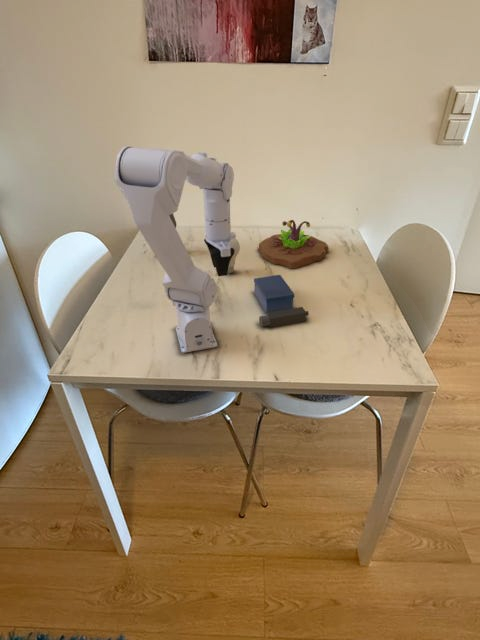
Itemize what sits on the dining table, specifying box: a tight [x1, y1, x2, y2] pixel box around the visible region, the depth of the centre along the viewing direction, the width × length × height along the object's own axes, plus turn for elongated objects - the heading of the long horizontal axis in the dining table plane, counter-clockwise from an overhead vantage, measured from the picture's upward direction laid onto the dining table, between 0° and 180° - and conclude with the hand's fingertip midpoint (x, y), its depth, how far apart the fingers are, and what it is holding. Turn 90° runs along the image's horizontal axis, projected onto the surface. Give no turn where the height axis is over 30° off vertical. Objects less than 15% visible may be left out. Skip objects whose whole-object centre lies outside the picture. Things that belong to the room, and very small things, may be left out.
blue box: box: [253, 274, 296, 315], centre depth 105 cm, size 10×7×4 cm
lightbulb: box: [227, 238, 241, 274], centre depth 115 cm, size 6×6×11 cm
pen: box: [258, 306, 310, 328], centre depth 97 cm, size 12×3×3 cm, turn 106°
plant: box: [258, 219, 329, 270], centre depth 125 cm, size 20×20×11 cm
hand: (220, 270), depth 100 cm, fingers open, 4 cm apart
